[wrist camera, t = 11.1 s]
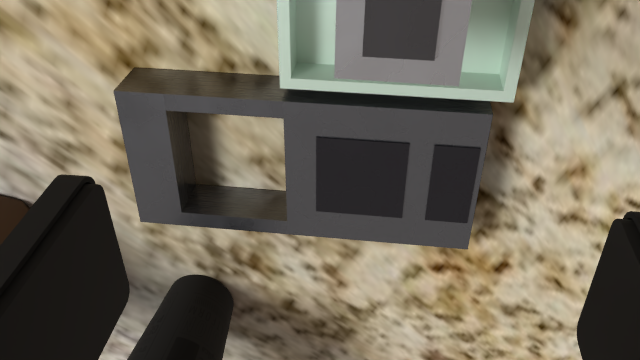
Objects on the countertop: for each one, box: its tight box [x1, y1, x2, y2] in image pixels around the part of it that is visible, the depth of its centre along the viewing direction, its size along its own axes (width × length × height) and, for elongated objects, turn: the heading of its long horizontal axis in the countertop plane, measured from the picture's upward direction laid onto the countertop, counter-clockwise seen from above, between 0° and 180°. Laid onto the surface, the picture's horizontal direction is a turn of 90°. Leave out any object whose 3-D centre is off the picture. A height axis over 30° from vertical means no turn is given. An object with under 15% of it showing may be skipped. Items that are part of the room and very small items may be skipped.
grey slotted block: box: [114, 68, 493, 249], centre depth 36 cm, size 9×20×3 cm, turn 90°
